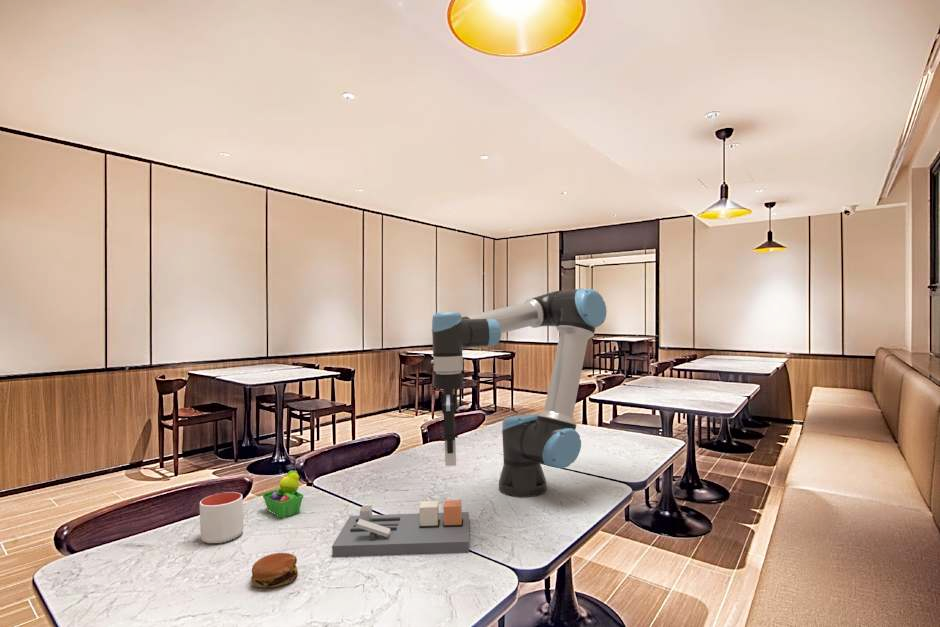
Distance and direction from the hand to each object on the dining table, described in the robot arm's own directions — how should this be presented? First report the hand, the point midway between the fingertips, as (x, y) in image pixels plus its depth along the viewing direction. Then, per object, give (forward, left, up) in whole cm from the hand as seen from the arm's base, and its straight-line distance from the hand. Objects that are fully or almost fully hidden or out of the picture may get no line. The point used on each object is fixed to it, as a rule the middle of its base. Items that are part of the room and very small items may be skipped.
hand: (450, 464), depth 130 cm
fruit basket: (+49, -18, -18) cm, 56 cm away
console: (+12, +2, -17) cm, 21 cm away
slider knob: (+22, 0, -14) cm, 26 cm away
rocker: (+19, +7, -13) cm, 24 cm away
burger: (+38, +20, -18) cm, 46 cm away
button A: (0, 0, -15) cm, 15 cm away
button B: (+6, 0, -15) cm, 16 cm away
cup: (+60, -2, -18) cm, 62 cm away
